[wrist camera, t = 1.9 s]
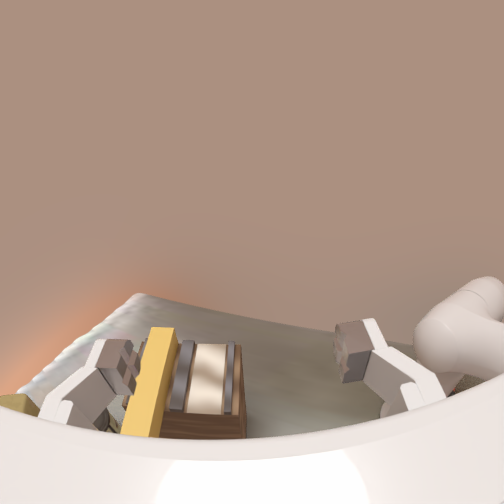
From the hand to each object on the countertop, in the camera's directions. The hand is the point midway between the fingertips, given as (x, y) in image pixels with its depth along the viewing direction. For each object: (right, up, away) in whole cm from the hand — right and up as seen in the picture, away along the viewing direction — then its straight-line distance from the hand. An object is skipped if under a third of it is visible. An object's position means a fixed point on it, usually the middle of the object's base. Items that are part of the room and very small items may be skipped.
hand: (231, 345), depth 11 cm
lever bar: (-14, -18, +30) cm, 38 cm away
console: (-10, -38, +47) cm, 61 cm away
